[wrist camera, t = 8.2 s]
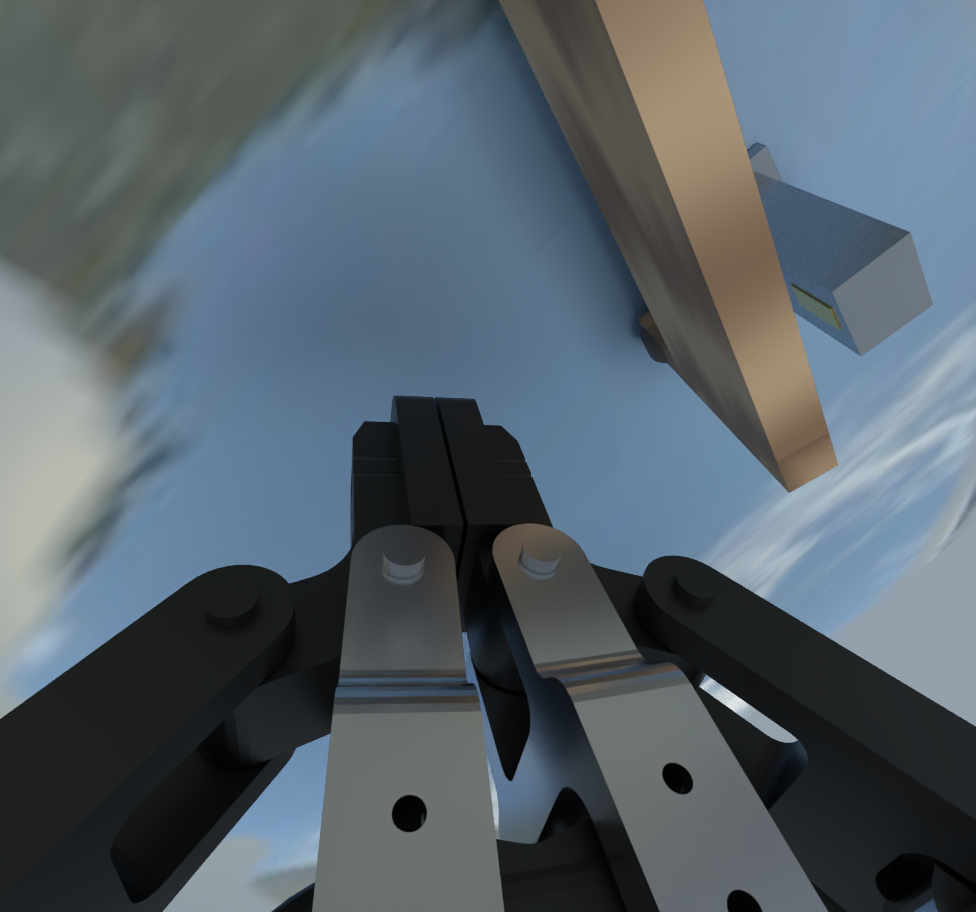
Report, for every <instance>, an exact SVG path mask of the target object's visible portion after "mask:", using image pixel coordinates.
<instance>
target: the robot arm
mask: <svg viewBox="0 0 976 912" xmlns="http://www.w3.org/2000/svg"><path fill="white" fill-rule="evenodd" d="M462 632H467V636H468V641H469V646H470V651H469V656H468V660H467V665H466V671H465V661H464V651H463V641H462ZM706 675H708V676H709V677H711V678H712V679H713V680H715V681H716V682H718V683H719V684H721V685H722V686H723V687H725V688H726V689H728V690H729V691H731V692H732V693H734V694H735V695H736V696H738V697H739V698H741V699H742V700H744V701H745V702H746V703H748V704H749V705H751V706H752V707H754V708H755V709H756V710H758V711H759V712H761V713H762V714H764V715H765V716H767V717H768V718H769V719H771V720H772V721H774V722H775V723H777V724H778V725H779V726H781V727H782V728H784V729H785V730H787V731H788V732H790V733H791V734H792V735H793V736H795V737H796V738H797V739H798V741H796V742H793V743H784V742H780V741H777V740H775V739H772V738H771V737H769V736H767V735H766V734H764V733H763V732H762V731H760V730H759V729H758V728H756V727H755V726H753V725H752V724H751V723H749V722H748V721H746V720H745V719H744V718H742V717H741V716H739V715H738V714H736V713H735V712H734V711H732V710H731V709H729V708H728V707H727V706H725V705H724V704H722V703H721V702H720V701H718V700H717V699H715V698H714V697H713V696H711V695H710V694H708V693H707V692H706V691H704V690H703V689H701V688H700V687H699V686H700V684H701V682H702V681H703V679H704V677H705V676H706ZM466 677H467V678H466ZM330 733H331V735H330V745H329V754H328V764H327V774H326V783H325V793H324V803H323V812H322V822H321V831H320V841H319V851H318V860H317V870H316V879H315V882H314V883H312V884H311V885H309V886H308V887H306V888H304V889H303V890H301V891H300V892H298V893H296V894H295V895H293V896H291V897H290V898H288V899H287V900H286V901H285V902H283V903H282V904H281V905H280V906H278V907H277V908H276V909H274V910H273V911H272V912H976V726H974V725H972V724H970V723H969V722H967V721H966V720H964V719H962V718H961V717H959V716H957V715H955V714H954V713H952V712H950V711H949V710H947V709H946V708H944V707H942V706H941V705H939V704H937V703H935V702H934V701H932V700H931V699H929V698H927V697H926V696H924V695H922V694H921V693H919V692H917V691H916V690H914V689H912V688H911V687H909V686H907V685H906V684H904V683H902V682H901V681H899V680H897V679H896V678H894V677H892V676H891V675H889V674H887V673H886V672H884V671H883V670H881V669H879V668H878V667H876V666H874V665H872V664H871V663H869V662H868V661H866V660H864V659H863V658H861V657H859V656H858V655H856V654H854V653H853V652H851V651H849V650H848V649H846V648H844V647H842V646H841V645H839V644H838V643H836V642H834V641H833V640H831V639H829V638H828V637H826V636H824V635H823V634H821V633H819V632H818V631H816V630H814V629H813V628H811V627H809V626H808V625H806V624H804V623H803V622H801V621H799V620H798V619H796V618H794V617H793V616H791V615H789V614H788V613H786V612H785V611H783V610H781V609H780V608H778V607H776V606H775V605H773V604H771V603H770V602H768V601H766V600H765V599H763V598H761V597H760V596H758V595H756V594H755V593H753V592H751V591H750V590H748V589H746V588H745V587H743V586H741V585H740V584H738V583H736V582H735V581H733V580H731V579H730V578H728V577H726V576H725V575H723V574H721V573H720V572H718V571H716V570H715V569H713V568H711V567H710V566H708V565H706V564H704V563H702V562H699V561H697V560H694V559H691V558H687V557H682V556H664V557H660V558H657V559H655V560H653V561H652V562H651V563H649V565H648V566H647V567H646V570H645V572H644V574H643V577H642V576H637V575H633V574H629V573H624V572H620V571H615V570H611V569H607V568H603V567H600V566H596V565H594V564H591V563H590V562H589V561H588V559H587V557H586V555H585V553H584V552H583V550H582V549H581V547H580V546H579V545H578V544H577V543H576V542H575V541H574V540H573V539H572V538H571V537H569V536H568V535H566V534H565V533H563V532H561V531H559V530H557V529H555V528H553V526H552V523H551V521H550V519H549V516H548V514H547V511H546V509H545V506H544V504H543V502H542V499H541V497H540V494H539V492H538V489H537V487H536V485H535V482H534V480H533V477H531V472H530V470H529V468H528V465H527V463H525V458H524V455H523V453H522V450H521V448H520V446H519V443H518V441H517V440H516V439H515V438H514V437H513V436H511V435H510V434H509V433H508V432H507V431H506V430H505V429H504V428H503V427H502V426H496V425H484V424H483V421H482V418H481V415H480V412H479V409H478V406H477V403H476V401H475V399H465V398H443V397H436V398H435V399H434V398H433V397H417V396H393V401H392V410H391V422H369V421H364V423H363V424H362V426H361V427H360V428H359V430H358V431H357V432H356V434H355V435H354V436H353V447H352V475H351V549H350V550H349V552H348V554H347V555H346V556H345V557H344V559H343V560H342V561H340V562H339V563H338V564H337V565H336V566H334V567H333V568H331V569H330V570H328V571H326V572H324V573H322V574H319V575H317V576H314V577H311V578H308V579H304V580H300V581H297V582H293V583H290V584H288V582H287V581H286V580H285V579H284V578H283V577H282V576H280V575H279V574H277V573H276V572H274V571H271V570H269V569H266V568H263V567H259V566H252V565H233V566H226V567H222V568H217V569H215V570H212V571H209V572H206V573H204V574H202V575H200V576H198V577H196V578H195V579H193V580H192V581H190V582H188V583H187V584H186V585H184V586H183V587H182V588H180V589H179V590H177V591H176V592H175V593H173V594H172V595H171V596H169V597H168V598H166V599H165V600H164V601H162V602H161V603H160V604H158V605H157V606H155V607H154V608H153V609H151V610H150V611H149V612H147V613H146V614H144V615H143V616H142V617H140V618H139V619H138V620H136V621H135V622H133V623H132V624H131V625H129V626H128V627H126V628H125V629H124V630H122V631H121V632H120V633H118V634H117V635H115V636H114V637H113V638H111V639H110V640H109V641H107V642H106V643H104V644H103V645H102V646H100V647H99V648H98V649H96V650H95V651H93V652H92V653H91V654H89V655H88V656H87V657H85V658H84V659H82V660H81V661H80V662H78V663H77V664H76V665H74V666H73V667H71V668H70V669H69V670H67V671H66V672H64V673H63V674H62V675H60V676H59V677H58V678H56V679H55V680H53V681H52V682H51V683H49V684H48V685H47V686H45V687H44V688H42V689H41V690H40V691H38V692H37V693H36V694H34V695H33V696H31V697H30V698H29V699H27V700H26V701H25V702H23V703H22V704H20V705H19V706H18V707H16V708H15V709H13V710H12V711H11V712H9V713H8V714H7V715H5V716H4V717H3V718H1V719H0V912H163V910H164V909H165V908H166V907H167V906H168V904H169V903H170V902H171V901H172V900H173V898H174V897H175V896H176V895H177V894H178V893H179V891H180V890H181V889H182V888H183V887H184V885H185V884H186V883H187V882H188V880H189V879H190V878H191V877H192V876H193V875H194V873H195V872H196V871H197V870H198V869H199V867H200V866H201V865H202V864H203V863H204V862H205V860H206V859H207V858H208V857H209V856H210V854H211V853H212V852H213V851H214V850H215V848H216V847H217V846H218V845H219V844H220V842H221V841H222V840H223V839H224V838H225V836H226V835H227V834H228V833H229V832H230V831H231V829H232V828H233V827H234V826H235V825H236V823H237V822H238V821H239V820H240V819H241V817H242V816H243V815H244V814H245V813H246V811H247V810H248V809H249V808H250V807H251V805H252V804H253V803H254V802H255V801H256V800H257V798H258V797H259V796H260V795H261V794H262V792H263V791H264V790H265V789H266V788H267V786H268V785H269V784H270V783H271V782H272V780H273V779H274V778H275V777H276V776H277V774H278V773H279V772H280V771H281V770H282V769H283V767H284V766H285V765H286V764H287V762H288V761H289V760H290V758H291V757H292V755H293V753H294V751H295V749H296V748H297V747H299V746H302V745H304V744H307V743H309V742H311V741H314V740H316V739H318V738H321V737H323V736H325V735H328V734H330ZM486 753H487V756H488V760H489V764H490V767H491V771H492V775H493V779H494V782H495V786H496V791H497V797H498V805H499V837H500V840H498V839H496V835H495V826H494V818H493V809H492V800H491V792H490V783H489V774H488V766H487V757H486Z"/></svg>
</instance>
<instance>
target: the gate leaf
mask: <svg viewBox="0 0 976 912" xmlns="http://www.w3.org/2000/svg"><path fill="white" fill-rule="evenodd" d="M499 2H500V4H501V6H502V9H503V11H504V13H505V15H506V17H507V19H508V21H509V23H510V25H511V27H512V29H513V31H514V33H515V35H516V37H517V39H518V41H519V43H520V46H521V48H522V50H523V52H524V54H525V56H526V58H527V60H528V62H529V64H530V66H531V68H532V70H533V72H534V74H535V76H536V78H537V81H538V83H539V85H540V87H541V89H542V91H543V93H544V95H545V97H546V99H547V101H548V103H549V105H550V107H551V109H552V111H553V113H554V115H555V118H556V120H557V122H558V124H559V126H560V128H561V130H562V132H563V134H564V136H565V138H566V140H567V142H568V144H569V146H570V148H571V150H572V152H573V155H574V157H575V159H576V161H577V163H578V165H579V167H580V169H581V171H582V173H583V175H584V177H585V179H586V181H587V183H588V185H589V187H590V189H591V192H592V194H593V196H594V198H595V200H596V202H597V204H598V206H599V208H600V210H601V212H602V214H603V216H604V218H605V220H606V222H607V224H608V227H609V229H610V231H611V233H612V235H613V237H614V239H615V241H616V243H617V245H618V247H619V249H620V251H621V253H622V255H623V257H624V259H625V261H626V264H627V266H628V268H629V270H630V272H631V274H632V276H633V278H634V280H635V282H636V284H637V286H638V288H639V290H640V292H641V294H642V296H643V298H644V301H645V303H646V305H647V307H648V309H649V312H647V313H646V314H644V315H643V316H641V317H640V318H638V321H639V323H640V325H641V327H642V328H641V330H640V337H641V340H642V342H643V343H644V345H645V347H646V349H647V351H648V353H649V355H650V357H651V358H652V359H653V360H655V361H657V362H661V363H668V364H669V365H670V366H671V367H672V369H673V370H674V371H675V372H676V373H677V374H678V375H679V376H680V377H681V378H682V379H683V380H684V381H685V382H686V383H687V385H688V386H689V387H690V388H691V389H692V390H693V391H694V392H695V393H696V394H697V395H698V396H699V397H700V398H701V399H702V401H703V402H704V403H705V404H706V405H707V406H708V407H709V408H710V409H711V410H712V411H713V412H714V413H715V414H716V415H717V417H718V418H719V419H720V420H721V421H722V422H723V423H724V424H725V425H726V426H727V427H728V428H729V429H730V430H731V431H732V433H733V434H734V435H735V436H736V437H737V438H738V439H739V440H740V441H741V442H742V443H743V444H744V445H745V446H746V447H747V449H748V450H749V451H750V452H751V453H752V454H753V455H754V456H755V457H756V458H757V459H758V460H759V461H760V462H761V463H762V465H763V466H764V467H765V468H766V469H767V470H768V471H769V472H770V473H771V474H772V475H773V476H774V477H775V478H776V479H777V481H778V482H779V483H780V484H781V485H782V486H783V487H784V488H785V489H786V490H787V491H788V492H789V493H790V492H791V491H793V490H795V489H797V488H799V487H800V486H802V485H804V484H806V483H807V482H809V481H811V480H813V479H814V478H816V477H818V476H820V475H821V474H823V473H825V472H827V471H829V470H830V469H832V468H834V467H836V466H837V465H838V463H837V460H836V456H835V453H834V449H833V446H832V442H831V439H830V436H829V432H828V429H827V425H826V422H825V418H824V415H823V411H822V408H821V405H820V401H819V398H818V394H817V391H816V387H815V384H814V380H813V377H812V373H811V370H810V367H809V363H808V360H807V356H806V353H805V349H804V346H803V342H802V339H801V336H800V332H799V329H798V325H797V322H796V318H795V315H794V311H793V308H792V305H791V301H790V298H789V294H788V291H787V287H786V284H785V280H784V277H783V273H782V270H781V267H780V263H779V260H778V256H777V253H776V249H775V246H774V242H773V239H772V236H771V232H770V229H769V225H768V222H767V218H766V215H765V211H764V208H763V205H762V201H761V198H760V194H759V191H758V187H757V184H756V180H755V177H754V173H753V170H752V167H751V163H750V160H749V156H748V153H747V149H746V146H745V142H744V139H743V136H742V132H741V129H740V125H739V122H738V118H737V115H736V111H735V108H734V105H733V101H732V98H731V94H730V91H729V87H728V84H727V80H726V77H725V73H724V70H723V67H722V63H721V60H720V56H719V53H718V49H717V46H716V42H715V39H714V36H713V32H712V29H711V25H710V22H709V18H708V15H707V11H706V8H705V5H704V1H703V0H499Z"/></svg>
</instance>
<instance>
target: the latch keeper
mask: <svg viewBox="0 0 976 912" xmlns="http://www.w3.org/2000/svg"><path fill="white" fill-rule="evenodd" d="M747 153H748V156H749V160H750V163H751V167H752V170H753V173H754V177H755V180H756V184H757V187H758V191H759V194H760V198H761V201H762V205H763V208H764V211H765V215H766V218H767V222H768V225H769V229H770V232H771V236H772V239H773V242H774V246H775V249H776V253H777V256H778V260H779V263H780V267H781V270H782V273H783V277H784V280H785V284H786V287H787V291H788V294H789V298H790V301H791V305H792V308H793V311H794V312H795V313H796V314H798V315H799V316H801V317H802V318H804V319H805V320H807V321H808V322H810V323H811V324H813V325H814V326H816V327H817V328H819V329H820V330H822V331H823V332H825V333H827V334H828V335H830V336H831V337H833V338H834V339H836V340H837V341H839V342H840V343H842V344H843V345H845V346H846V347H848V348H849V349H851V350H852V351H854V352H855V353H857V354H858V355H860V356H862V355H864V354H865V353H866V352H868V351H869V350H871V349H872V348H873V347H875V346H876V345H878V344H879V343H880V342H882V341H883V340H884V339H886V338H887V337H889V336H890V335H891V334H893V333H894V332H896V331H897V330H898V329H900V328H901V327H903V326H904V325H905V324H907V323H908V322H910V321H911V320H912V319H914V318H915V317H916V316H918V315H919V314H921V313H922V312H923V311H925V310H926V309H928V308H929V307H930V306H932V305H933V304H932V300H931V297H930V294H929V291H928V288H927V284H926V281H925V278H924V275H923V271H922V268H921V265H920V262H919V259H918V255H917V252H916V249H915V246H914V243H913V239H912V236H911V233H910V232H908V231H905V230H903V229H900V228H898V227H895V226H893V225H890V224H888V223H885V222H882V221H880V220H877V219H875V218H872V217H870V216H867V215H865V214H862V213H860V212H857V211H854V210H852V209H849V208H847V207H844V206H842V205H839V204H837V203H834V202H832V201H829V200H826V199H824V198H821V197H819V196H816V195H814V194H811V193H809V192H806V191H804V190H801V189H798V188H796V187H793V186H791V185H788V184H786V183H783V182H782V179H781V177H780V175H779V173H778V170H777V168H776V166H775V164H774V161H773V159H772V157H771V155H770V153H769V150H768V148H767V146H766V145H763V144H760V143H756V144H755V145H754V146H753V147H752V148H751V149H749V150H748V151H747Z"/></svg>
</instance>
